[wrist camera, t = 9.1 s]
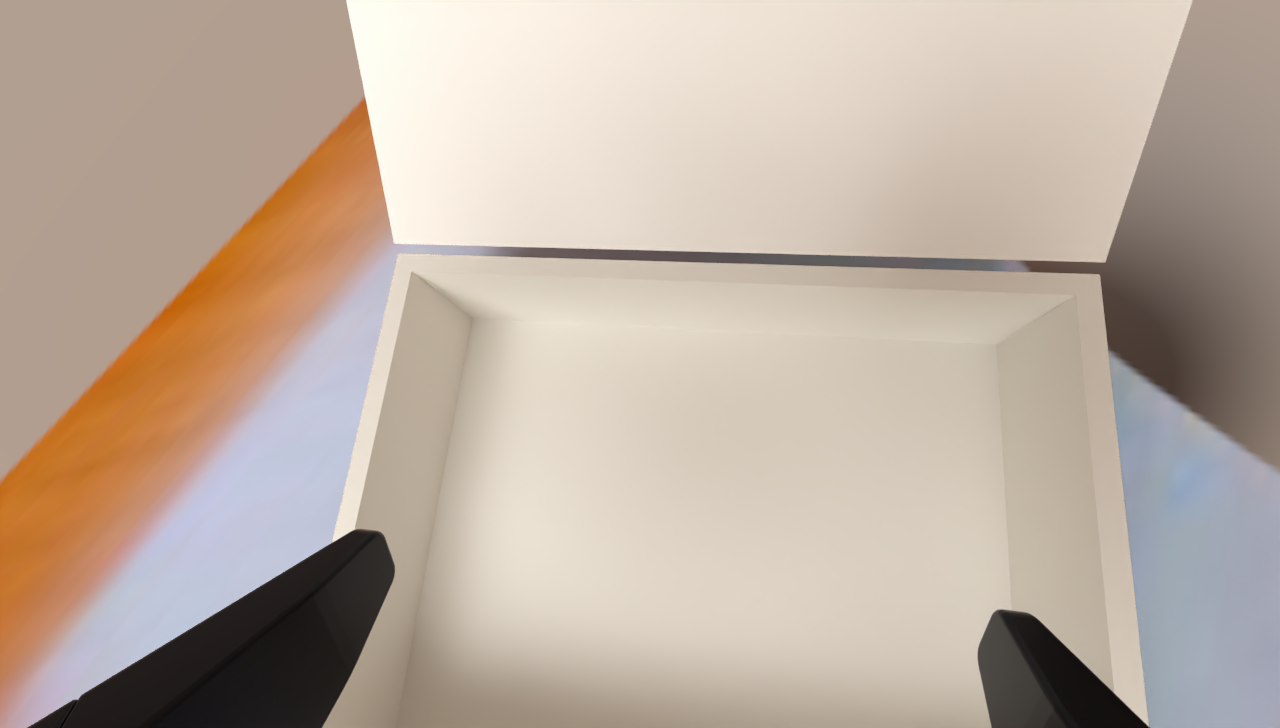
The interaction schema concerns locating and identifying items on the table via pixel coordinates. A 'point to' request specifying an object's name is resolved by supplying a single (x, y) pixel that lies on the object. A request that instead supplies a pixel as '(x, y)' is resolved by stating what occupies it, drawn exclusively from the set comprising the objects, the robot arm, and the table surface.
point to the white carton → (731, 493)
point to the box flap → (765, 122)
